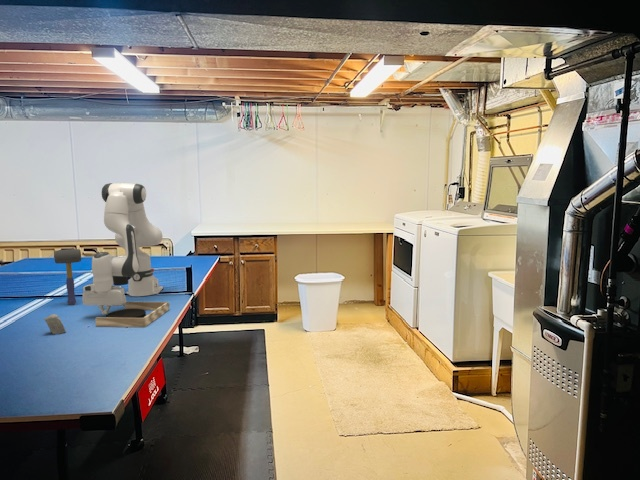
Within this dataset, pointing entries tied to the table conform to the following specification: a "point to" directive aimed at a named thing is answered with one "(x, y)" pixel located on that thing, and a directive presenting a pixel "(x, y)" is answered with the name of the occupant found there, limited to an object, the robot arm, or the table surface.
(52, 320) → the mineral specimen
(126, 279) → the pen holder
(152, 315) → the box
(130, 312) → the wireless charger
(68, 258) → the rubber mallet
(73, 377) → the table surface
